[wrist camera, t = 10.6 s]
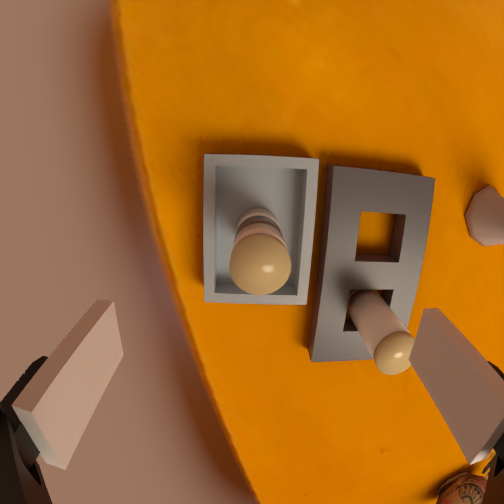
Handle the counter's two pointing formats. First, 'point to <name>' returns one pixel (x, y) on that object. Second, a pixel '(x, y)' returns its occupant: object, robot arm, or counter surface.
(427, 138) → the counter surface
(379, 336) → the cylinder
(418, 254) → the block
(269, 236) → the cylinder
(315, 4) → the counter surface
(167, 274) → the counter surface
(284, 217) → the parts tray
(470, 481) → the ceramic jug
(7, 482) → the robot arm
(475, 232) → the flask
